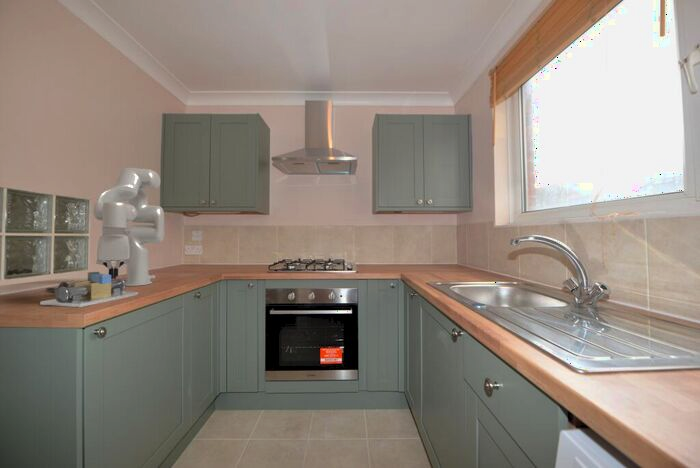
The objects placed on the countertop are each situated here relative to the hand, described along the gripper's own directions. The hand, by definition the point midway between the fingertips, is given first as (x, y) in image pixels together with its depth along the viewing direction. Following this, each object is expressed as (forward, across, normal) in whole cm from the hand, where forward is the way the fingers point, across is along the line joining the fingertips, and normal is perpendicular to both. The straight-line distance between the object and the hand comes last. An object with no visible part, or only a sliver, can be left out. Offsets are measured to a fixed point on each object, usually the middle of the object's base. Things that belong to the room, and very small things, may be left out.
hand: (113, 278), depth 120 cm
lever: (+1, +5, -3) cm, 6 cm away
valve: (+9, +16, -34) cm, 38 cm away
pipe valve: (+9, +7, -8) cm, 14 cm away
